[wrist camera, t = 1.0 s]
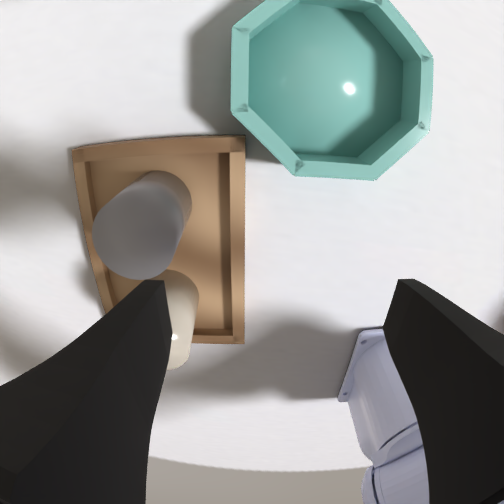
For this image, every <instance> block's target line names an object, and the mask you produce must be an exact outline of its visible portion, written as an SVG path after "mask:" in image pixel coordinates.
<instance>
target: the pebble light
mask: <svg viewBox="0 0 504 504" xmlns="http://www.w3.org/2000/svg"><path fill="white" fill-rule="evenodd" d="M145 280H164V283H165V289H166V296H167V302H168V308H169V314H170V320H171V325H172V331H173V334H172V342H171V349H170V356H169V362H168V366H167V369H166V370H172V369H176V368H178V367H180V366H182V365H183V364H184V363H185V362H186V361H187V359H188V357H189V353H190V347H191V341H192V336H193V330H194V325H195V319H196V314H197V309H198V303H199V292H198V289H197V287H196V285H195V284H194V282H193V281H192V280H191V279H190V278H189V277H187V276H186V275H184V274H183V273H180V272H178V271H175V270H169V269H166V270H164V271H163V272H162V273H161V274H159V275H157V276H155V277H153V278H150V279H145Z"/></svg>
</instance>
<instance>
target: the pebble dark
mask: <svg viewBox="0 0 504 504" xmlns="http://www.w3.org/2000/svg"><path fill="white" fill-rule="evenodd" d="M191 211H192V198H191V194H190V192H189V190H188V188H187V186H186V185H185V183H184V182H183V181H182V180H181V179H180V178H178V177H177V176H175V175H174V174H172V173H169V172H166V171H161V170H155V171H149V172H146V173H144V174H142V175H140V176H139V177H138V178H137V179H135V180H134V181H133V182H132V183H130V184H129V185H128V186H127V187H126V188H124V189H123V190H122V191H121V192H120V193H118V194H117V195H116V196H115V197H114V198H113V199H111V200H110V201H109V202H108V203H107V204H106V205H105V206H104V207H102V208H101V209H100V211H99V212H98V213H97V215H96V217H95V219H94V222H93V226H92V240H93V244H94V248H95V250H96V252H97V254H98V256H99V257H100V259H101V260H102V262H103V263H104V264H105V265H106V266H107V267H108V268H109V269H111V270H112V271H113V272H115V273H117V274H118V275H120V276H123V277H126V278H129V279H134V280H145V279H150V278H153V277H155V276H157V275H159V274H161V273H162V272H163V271H164V270H166V268H167V267H168V266H169V264H170V263H171V261H172V259H173V256H174V254H175V251H176V249H177V246H178V244H179V241H180V239H181V237H182V234H183V232H184V229H185V227H186V225H187V222H188V220H189V217H190V215H191Z"/></svg>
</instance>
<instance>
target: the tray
mask: <svg viewBox="0 0 504 504" xmlns="http://www.w3.org/2000/svg"><path fill="white" fill-rule="evenodd" d="M72 159H73V167H74V175H75V182H76V189H77V195H78V201H79V207H80V212H81V218H82V223H83V228H84V233H85V237H86V242H87V247H88V251H89V255H90V259H91V263H92V267H93V271H94V275H95V279H96V283H97V286H98V290H99V293H100V297H101V300H102V304H103V307H104V310H105V313H106V314H107V313H108V312H109V311H110V310H111V309H112V308H113V307H114V306H116V305H117V304H118V303H119V302H120V301H121V300H122V299H123V298H124V297H125V296H127V295H128V294H129V293H130V292H131V291H132V290H133V289H134V288H135V287H137V286H138V285H139V284H140V283H141V282H143V281H144V280H134V279H129V278H126V277H123V276H120V275H118V274H117V273H115V272H113V271H112V270H111V269H109V268H108V267H107V266H106V265H105V264H104V263H103V262H102V260H101V259H100V257H99V256H98V254H97V252H96V250H95V248H94V244H93V240H92V226H93V222H94V219H95V217H96V215H97V213H98V212H99V211H100V209H101V208H102V207H104V206H105V205H106V204H107V203H108V202H109V201H110V200H111V199H113V198H114V197H115V196H116V195H117V194H118V193H120V192H121V191H122V190H123V189H124V188H126V187H127V186H128V185H129V184H130V183H132V182H133V181H134V180H135V179H137V178H138V177H139V176H140V175H142V174H144V173H146V172H149V171H155V170H161V171H166V172H169V173H172V174H174V175H175V176H177V177H178V178H180V179H181V180H182V181H183V182H184V183H185V185H186V186H187V188H188V190H189V192H190V194H191V198H192V211H191V215H190V217H189V220H188V222H187V225H186V227H185V229H184V232H183V234H182V237H181V239H180V241H179V244H178V246H177V249H176V251H175V254H174V256H173V259H172V261H171V263H170V264H169V266H168V267H167V268H166V269H169V270H175V271H178V272H180V273H183V274H184V275H186V276H187V277H189V278H190V279H191V280H192V281H193V282H194V284H195V285H196V287H197V289H198V292H199V303H198V309H197V314H196V319H195V325H194V330H193V336H192V341H191V343H205V344H244V274H245V135H205V136H181V137H164V138H150V139H139V140H128V141H119V142H110V143H102V144H94V145H87V146H81V147H78V148H75V149H73V150H72Z"/></svg>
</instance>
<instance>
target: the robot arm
mask: <svg viewBox="0 0 504 504" xmlns="http://www.w3.org/2000/svg"><path fill="white" fill-rule="evenodd" d="M172 334H173V331H172V325H171V320H170V314H169V308H168V302H167V296H166V289H165V283H164V280H144V281H143V282H141V283H140V284H139V285H138V286H137V287H135V288H134V289H133V290H132V291H131V292H130V293H129V294H128V295H127V296H125V297H124V298H123V299H122V300H121V301H120V302H119V303H118V304H117V305H116V306H114V307H113V308H112V309H111V310H110V311H109V312H108V313H107V314H105V315H104V316H103V317H102V318H101V319H100V320H99V321H97V322H96V323H95V324H94V325H92V326H91V327H90V328H89V329H88V330H86V331H85V332H84V333H83V334H82V335H80V336H79V337H78V338H77V339H75V340H74V341H73V342H72V343H70V344H69V345H68V346H66V347H65V348H63V349H62V350H61V351H59V352H58V353H56V354H55V355H53V356H52V357H50V358H49V359H47V360H46V361H44V362H43V363H41V364H39V365H38V366H36V367H34V368H33V369H31V370H29V371H27V372H26V373H24V374H22V375H21V376H19V377H17V378H15V379H13V380H11V381H9V382H7V383H5V384H3V385H1V386H0V504H145V500H146V476H147V463H148V452H149V443H150V435H151V429H152V424H153V419H154V415H155V411H156V407H157V403H158V400H159V396H160V392H161V388H162V384H163V381H164V377H165V373H166V369H167V366H168V362H169V356H170V349H171V342H172ZM363 340H364V341H363ZM338 401H339V402H348V404H349V408H350V412H351V415H352V419H353V423H354V426H355V430H356V434H357V438H358V441H359V445H360V448H361V450H362V452H363V453H364V455H365V456H366V457H367V458H368V459H370V460H371V461H372V462H373V465H372V466H370V467H368V468H367V470H366V472H365V475H364V477H363V480H362V488H361V489H362V498H363V503H364V504H504V335H503V334H501V333H499V332H498V331H496V330H494V329H493V328H491V327H489V326H488V325H486V324H485V323H483V322H481V321H480V320H478V319H477V318H475V317H474V316H472V315H471V314H469V313H468V312H466V311H465V310H463V309H462V308H460V307H459V306H457V305H456V304H454V303H453V302H451V301H450V300H448V299H447V298H445V297H444V296H442V295H441V294H439V293H438V292H436V291H434V290H433V289H431V288H430V287H428V286H426V285H425V284H423V283H421V282H419V281H417V280H415V279H398V282H397V285H396V289H395V292H394V295H393V298H392V302H391V305H390V308H389V311H388V314H387V317H386V320H385V323H384V325H383V329H374V330H364V331H362V332H361V333H360V334H359V335H358V339H357V342H356V345H355V348H354V352H353V355H352V358H351V361H350V364H349V367H348V370H347V373H346V375H345V378H344V381H343V384H342V387H341V389H340V392H339V395H338Z"/></svg>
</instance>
